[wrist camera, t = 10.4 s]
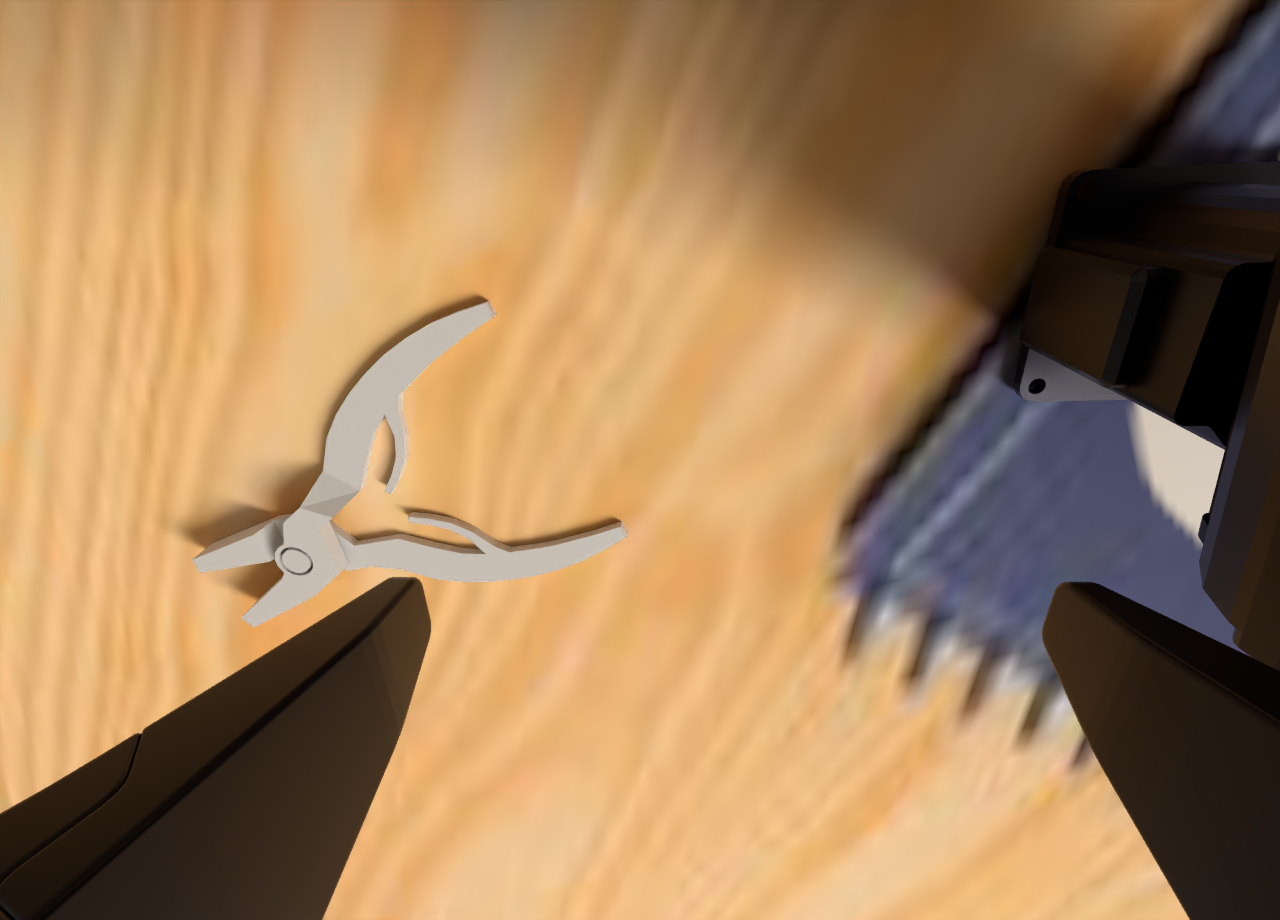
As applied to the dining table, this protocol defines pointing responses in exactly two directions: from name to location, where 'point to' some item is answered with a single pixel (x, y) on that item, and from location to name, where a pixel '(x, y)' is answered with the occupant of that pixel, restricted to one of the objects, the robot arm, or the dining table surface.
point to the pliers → (325, 549)
